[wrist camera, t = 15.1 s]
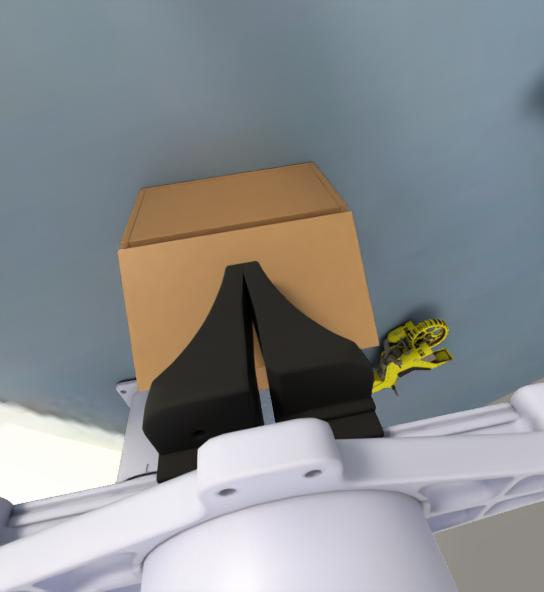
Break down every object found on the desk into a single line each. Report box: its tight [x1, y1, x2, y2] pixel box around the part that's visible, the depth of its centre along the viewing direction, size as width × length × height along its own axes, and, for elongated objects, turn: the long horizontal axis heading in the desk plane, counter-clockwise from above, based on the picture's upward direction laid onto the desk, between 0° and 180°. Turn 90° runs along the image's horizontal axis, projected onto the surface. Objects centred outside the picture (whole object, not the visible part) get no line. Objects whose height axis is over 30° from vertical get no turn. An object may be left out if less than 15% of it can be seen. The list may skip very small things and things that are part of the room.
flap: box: [117, 211, 379, 392], centre depth 15 cm, size 6×11×1 cm
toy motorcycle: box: [372, 318, 454, 396], centre depth 33 cm, size 12×4×7 cm
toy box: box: [120, 162, 347, 391], centre depth 22 cm, size 13×11×7 cm
